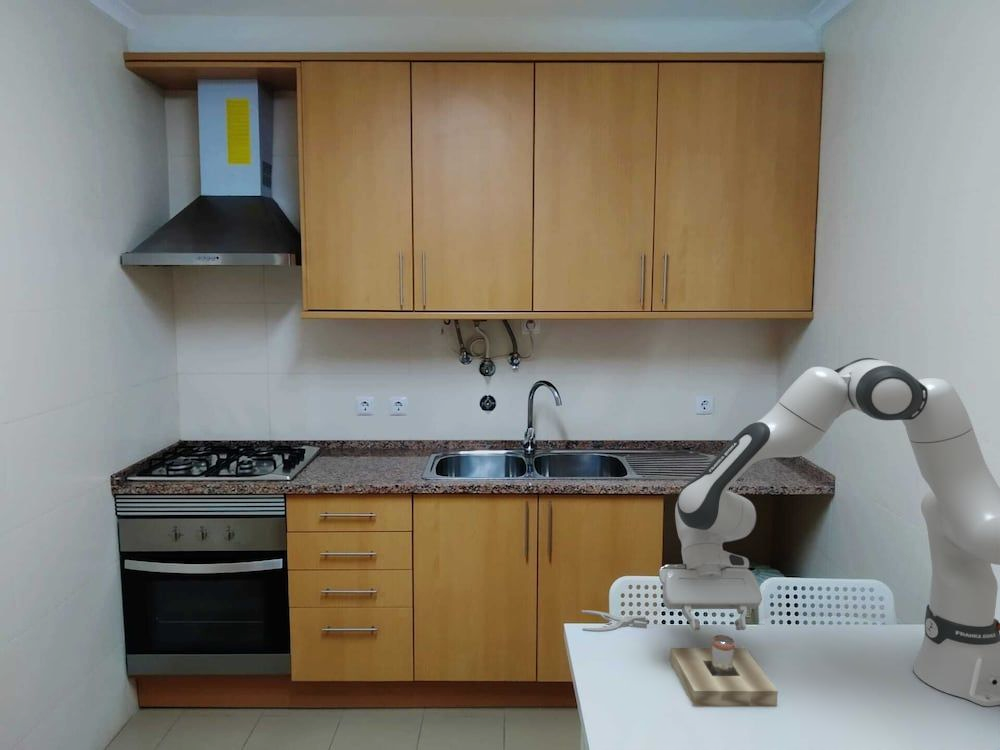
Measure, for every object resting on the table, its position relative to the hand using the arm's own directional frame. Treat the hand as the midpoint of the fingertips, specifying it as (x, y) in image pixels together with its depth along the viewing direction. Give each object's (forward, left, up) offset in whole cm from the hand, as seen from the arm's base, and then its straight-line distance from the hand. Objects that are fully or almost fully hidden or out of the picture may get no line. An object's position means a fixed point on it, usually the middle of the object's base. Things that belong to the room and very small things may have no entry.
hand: (718, 629), depth 141 cm
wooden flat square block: (0, +3, -10) cm, 10 cm away
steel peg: (0, +3, -10) cm, 10 cm away
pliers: (+17, -22, -10) cm, 29 cm away
